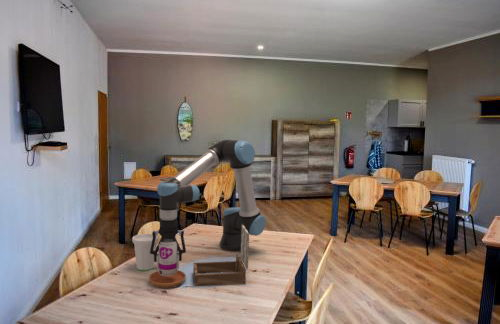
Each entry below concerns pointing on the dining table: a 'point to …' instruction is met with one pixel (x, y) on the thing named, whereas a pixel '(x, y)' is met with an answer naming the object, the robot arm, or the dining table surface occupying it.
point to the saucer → (167, 279)
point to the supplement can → (167, 258)
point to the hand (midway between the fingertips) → (167, 268)
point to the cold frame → (224, 267)
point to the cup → (144, 251)
